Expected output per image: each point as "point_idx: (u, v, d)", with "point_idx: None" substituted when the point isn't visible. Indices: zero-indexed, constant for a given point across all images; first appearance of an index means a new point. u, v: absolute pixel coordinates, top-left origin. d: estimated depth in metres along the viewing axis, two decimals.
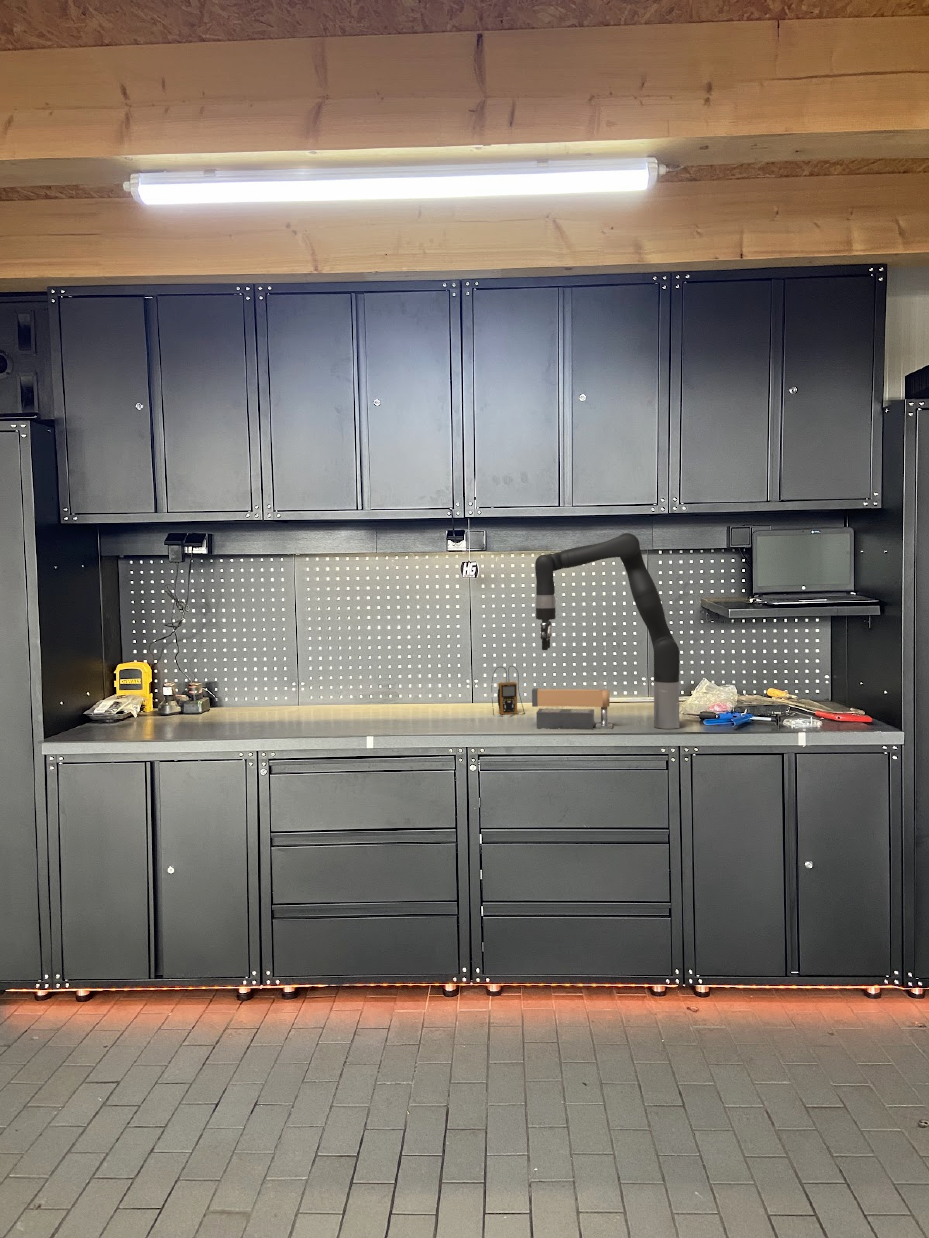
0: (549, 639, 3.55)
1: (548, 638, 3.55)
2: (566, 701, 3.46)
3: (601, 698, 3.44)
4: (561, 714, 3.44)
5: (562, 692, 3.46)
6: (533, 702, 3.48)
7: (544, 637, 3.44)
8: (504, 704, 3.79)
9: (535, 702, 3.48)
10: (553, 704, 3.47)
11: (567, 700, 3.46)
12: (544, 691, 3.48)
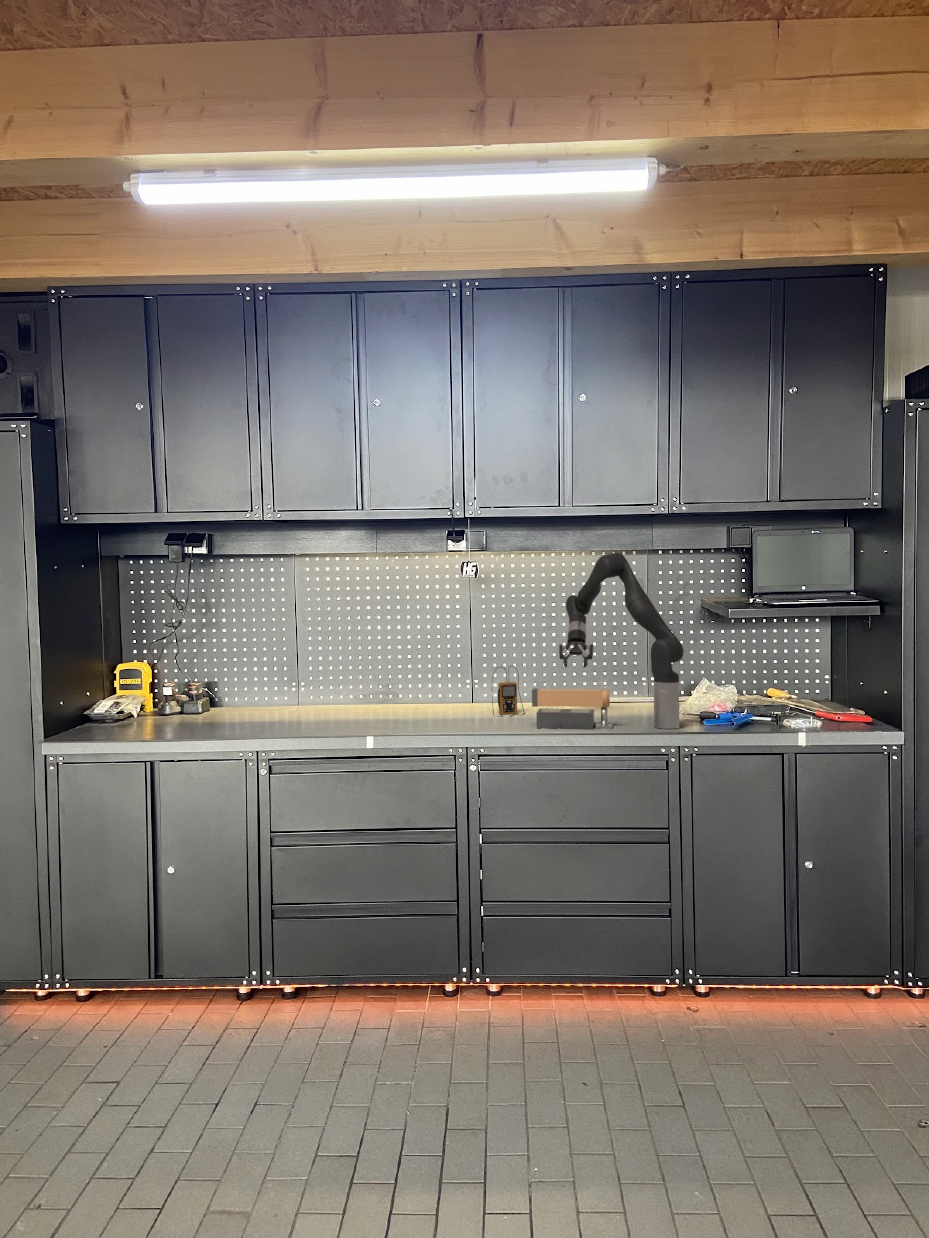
0: None
1: (584, 657, 3.68)
2: (566, 701, 3.46)
3: (601, 698, 3.44)
4: (561, 714, 3.44)
5: (562, 692, 3.46)
6: (533, 702, 3.48)
7: None
8: (504, 704, 3.79)
9: (535, 702, 3.48)
10: (553, 704, 3.47)
11: (567, 700, 3.46)
12: (544, 691, 3.48)
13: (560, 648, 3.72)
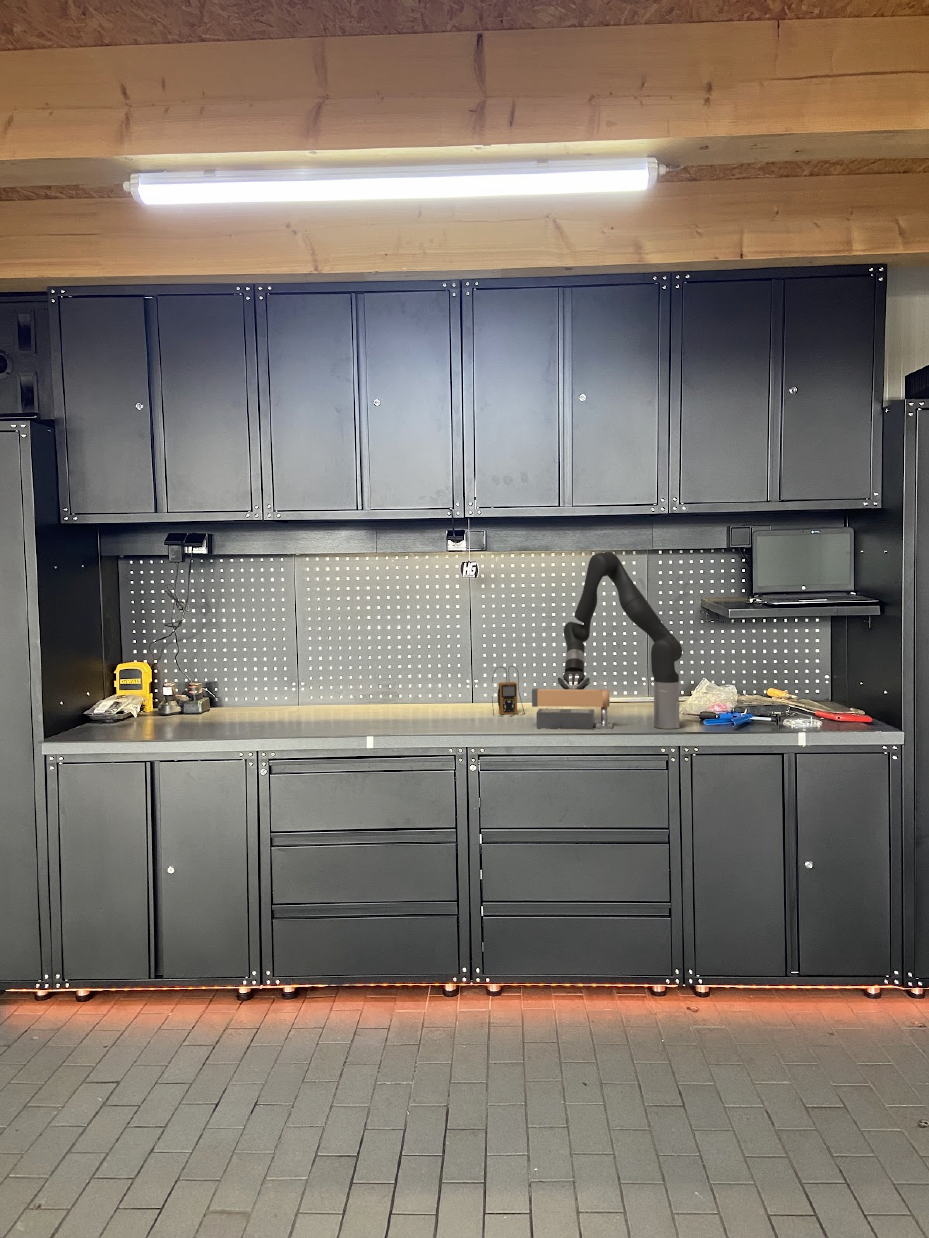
0: None
1: None
2: (566, 701, 3.46)
3: (601, 698, 3.44)
4: (561, 714, 3.44)
5: (562, 692, 3.46)
6: (533, 702, 3.48)
7: (565, 688, 3.54)
8: (504, 704, 3.79)
9: (535, 702, 3.48)
10: (553, 704, 3.47)
11: (567, 700, 3.46)
12: (544, 691, 3.47)
13: (561, 681, 3.55)
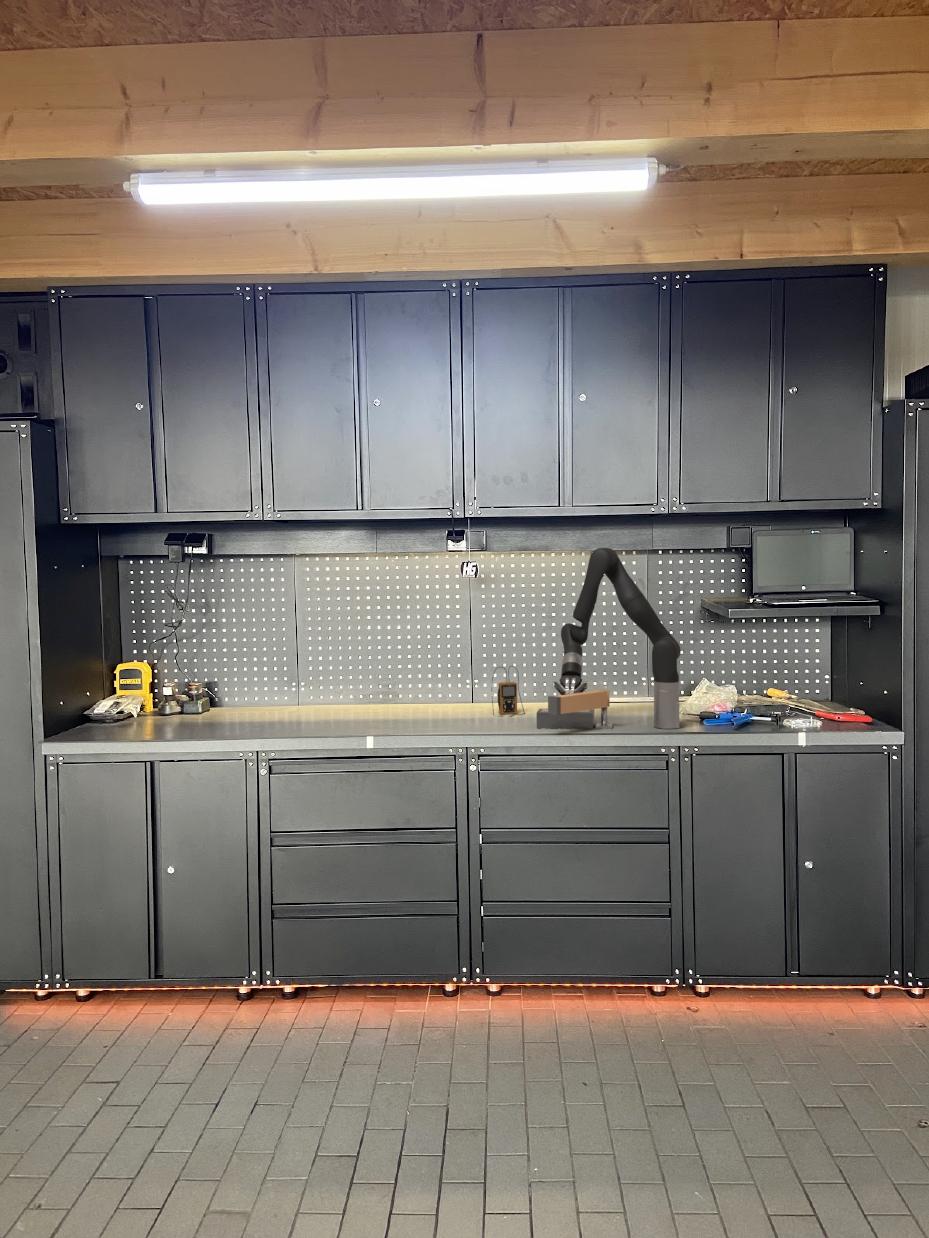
0: None
1: None
2: (582, 705, 3.35)
3: (606, 698, 3.43)
4: (561, 714, 3.44)
5: (579, 696, 3.34)
6: (557, 710, 3.27)
7: (561, 692, 3.42)
8: (504, 704, 3.79)
9: (559, 710, 3.28)
10: (572, 710, 3.32)
11: (582, 704, 3.36)
12: (565, 697, 3.30)
13: (557, 685, 3.43)
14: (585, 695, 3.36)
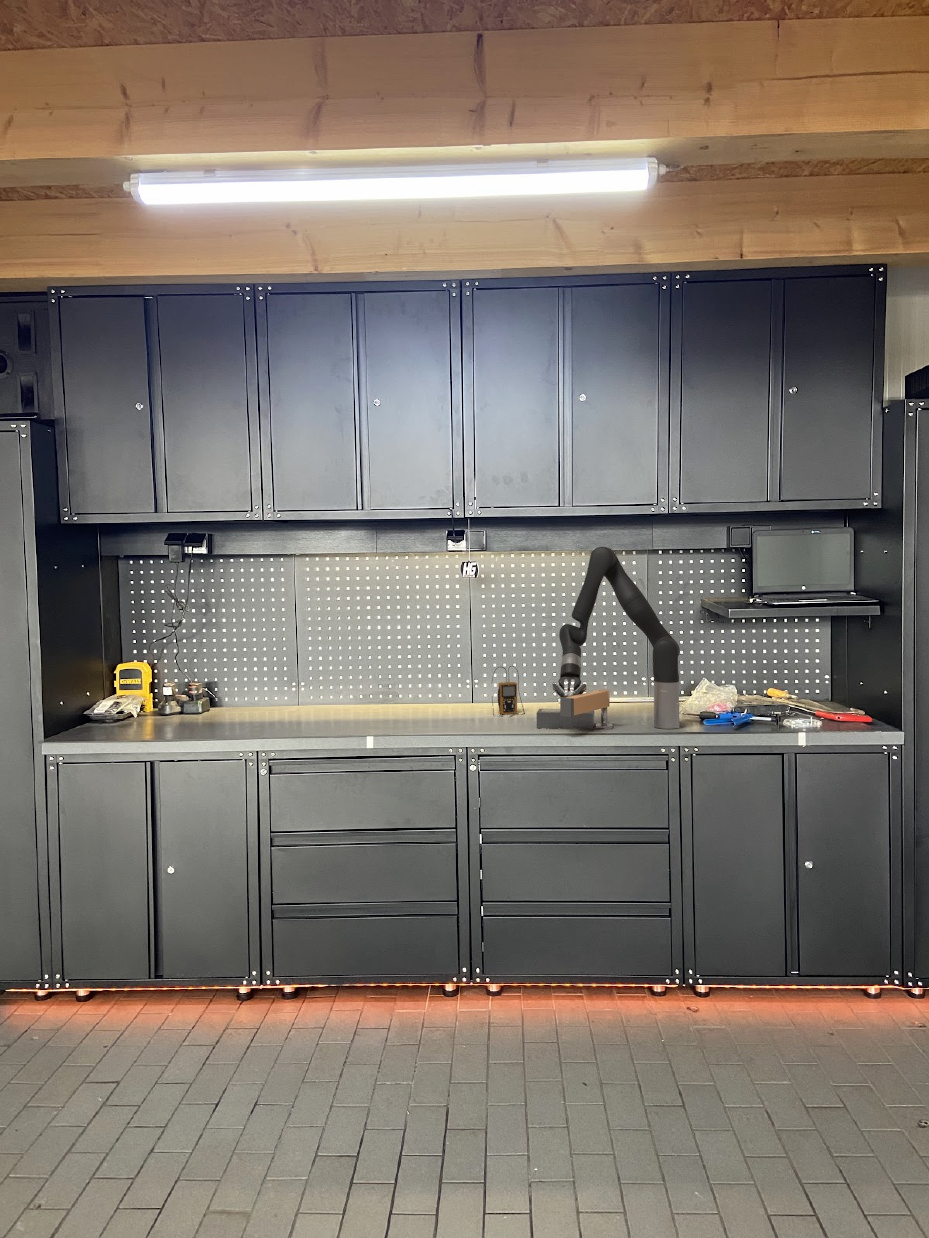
0: None
1: (569, 696, 3.34)
2: (589, 705, 3.33)
3: (607, 698, 3.43)
4: None
5: (587, 697, 3.32)
6: (571, 712, 3.24)
7: (560, 694, 3.36)
8: (504, 704, 3.79)
9: (572, 711, 3.24)
10: (582, 711, 3.30)
11: (590, 704, 3.34)
12: (577, 698, 3.27)
13: (556, 687, 3.37)
14: (592, 696, 3.35)
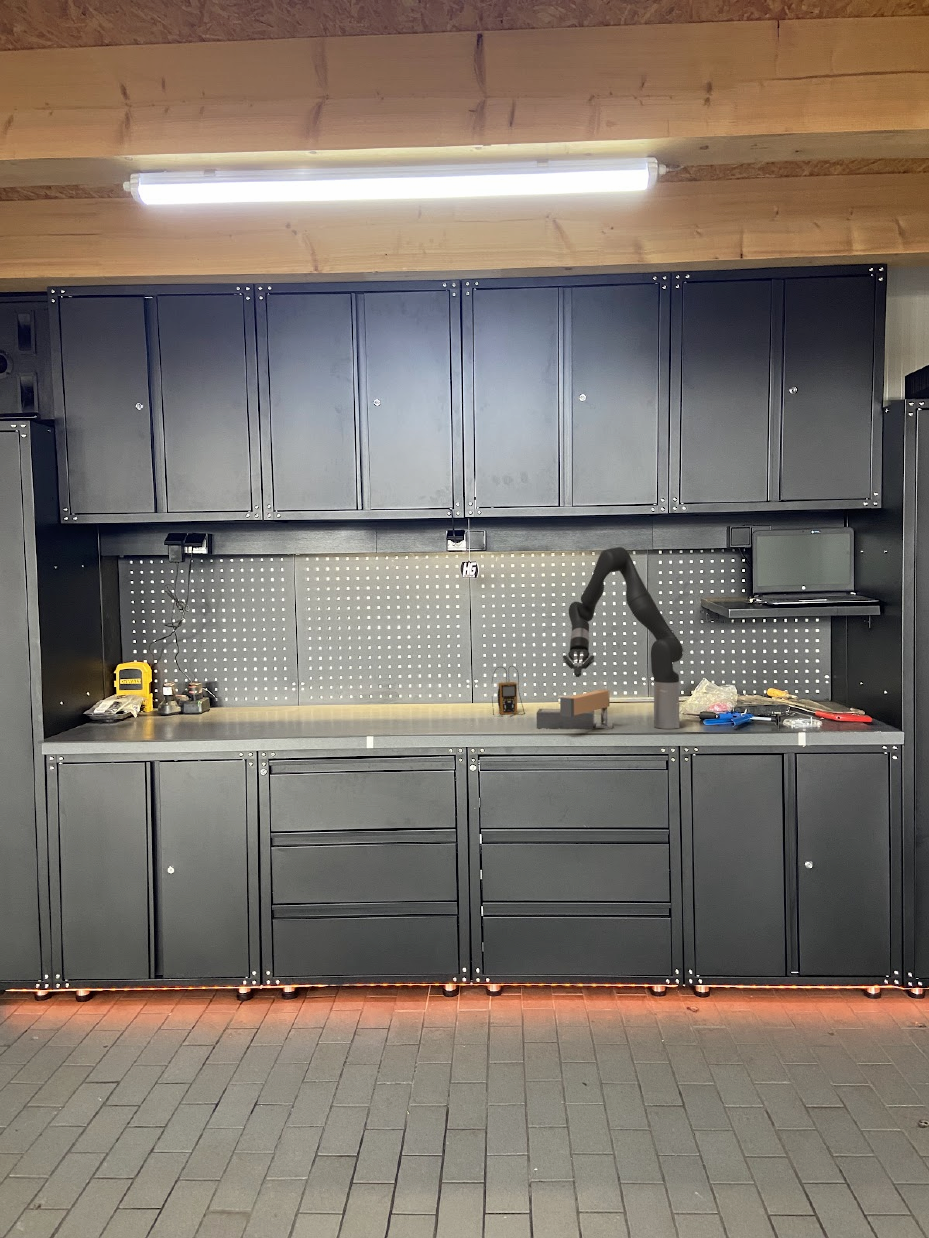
0: (577, 667, 3.60)
1: (578, 667, 3.61)
2: (589, 705, 3.33)
3: (607, 698, 3.43)
4: None
5: (587, 697, 3.32)
6: (571, 712, 3.24)
7: (570, 665, 3.63)
8: (504, 704, 3.79)
9: (572, 711, 3.24)
10: (582, 711, 3.30)
11: (590, 704, 3.34)
12: (577, 698, 3.27)
13: (566, 659, 3.64)
14: (592, 696, 3.35)
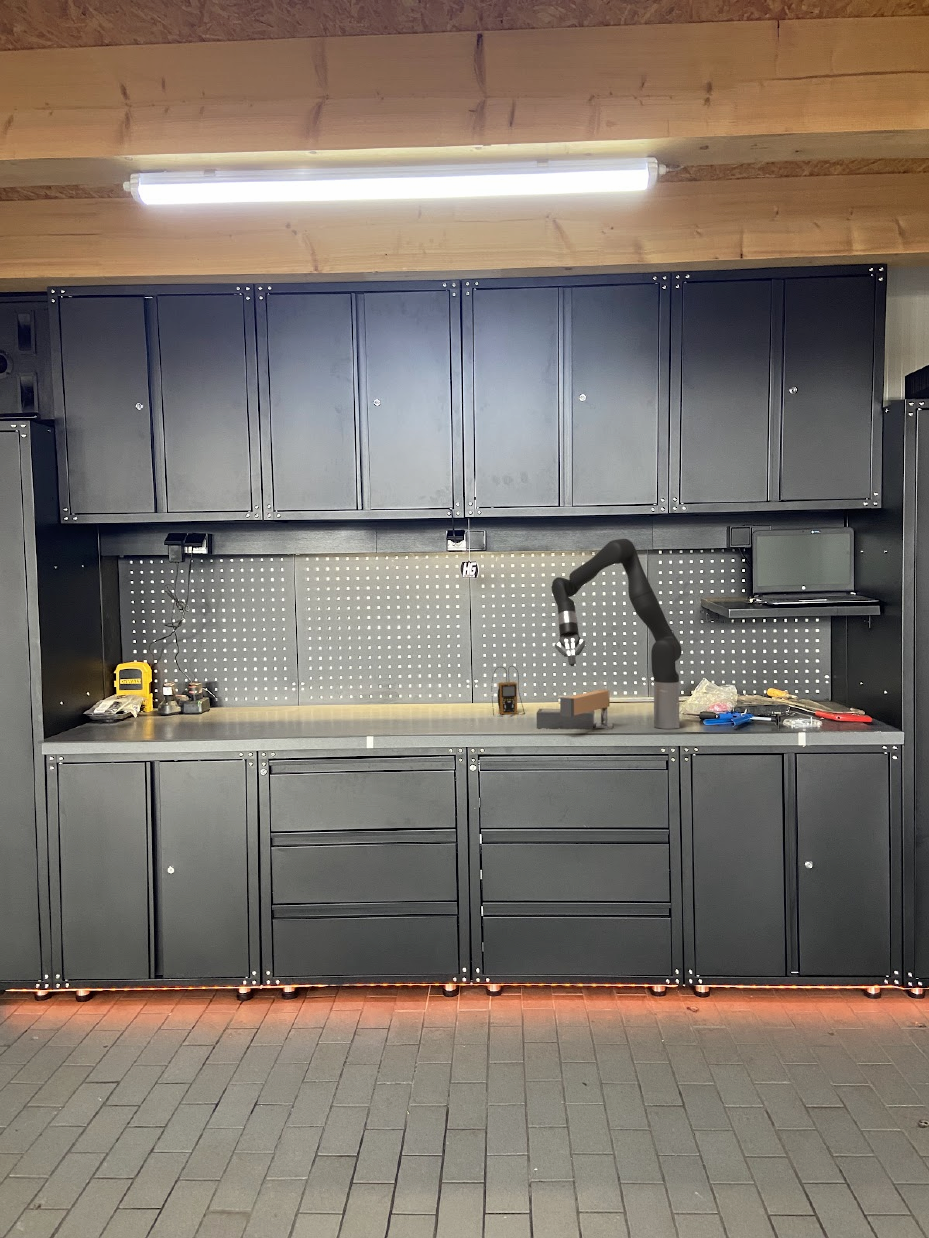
0: (571, 656, 3.61)
1: None
2: (589, 705, 3.33)
3: (607, 698, 3.43)
4: None
5: (587, 697, 3.32)
6: (571, 712, 3.24)
7: (563, 654, 3.63)
8: (504, 704, 3.79)
9: (572, 711, 3.24)
10: (582, 711, 3.30)
11: (590, 704, 3.34)
12: (577, 698, 3.27)
13: (558, 648, 3.63)
14: (592, 696, 3.35)
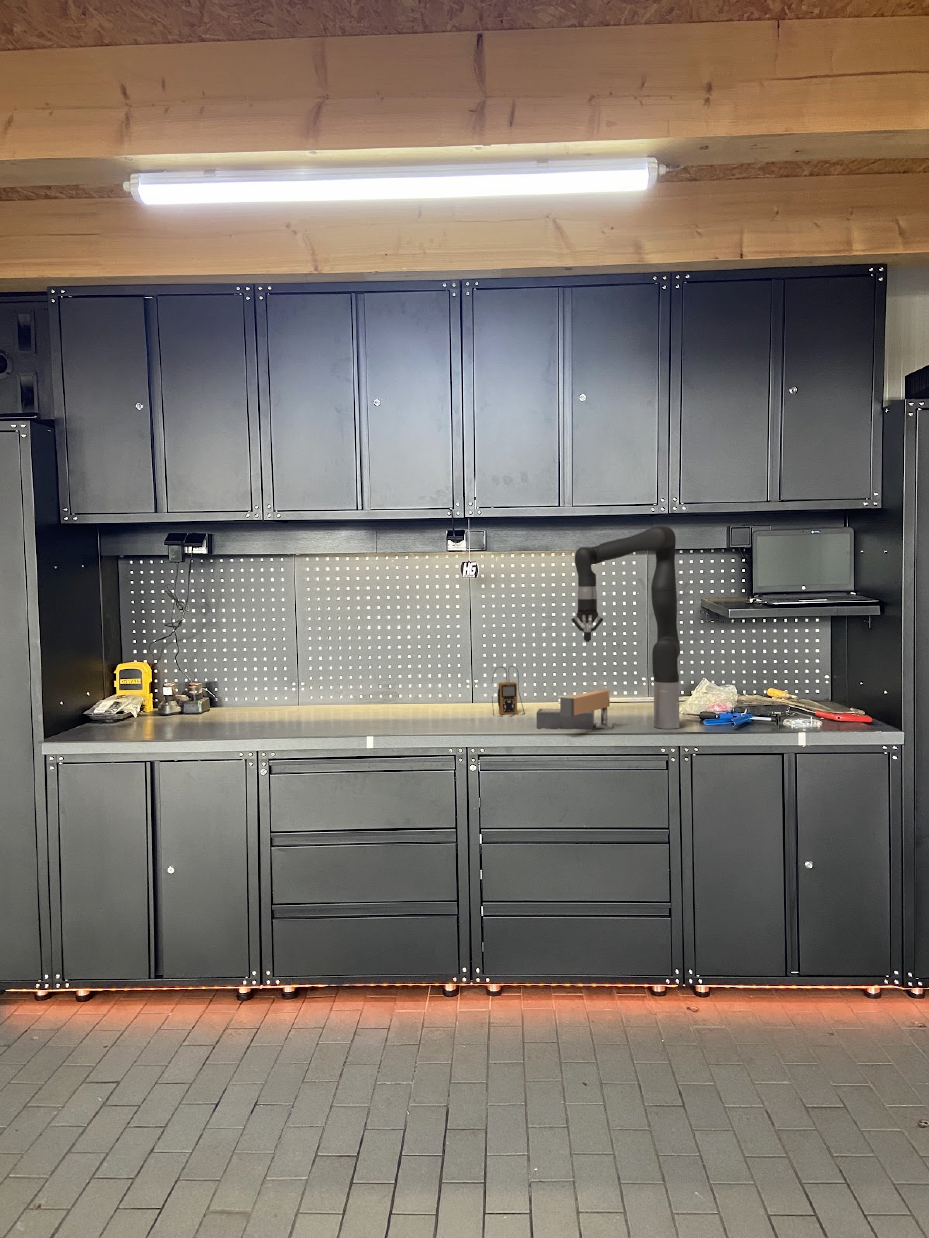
0: (587, 633, 3.61)
1: (587, 632, 3.62)
2: (589, 705, 3.33)
3: (607, 698, 3.43)
4: None
5: (587, 697, 3.32)
6: (571, 712, 3.24)
7: (579, 629, 3.62)
8: (504, 704, 3.79)
9: (572, 711, 3.24)
10: (582, 711, 3.30)
11: (590, 704, 3.34)
12: (577, 698, 3.27)
13: (575, 623, 3.62)
14: (592, 696, 3.35)
